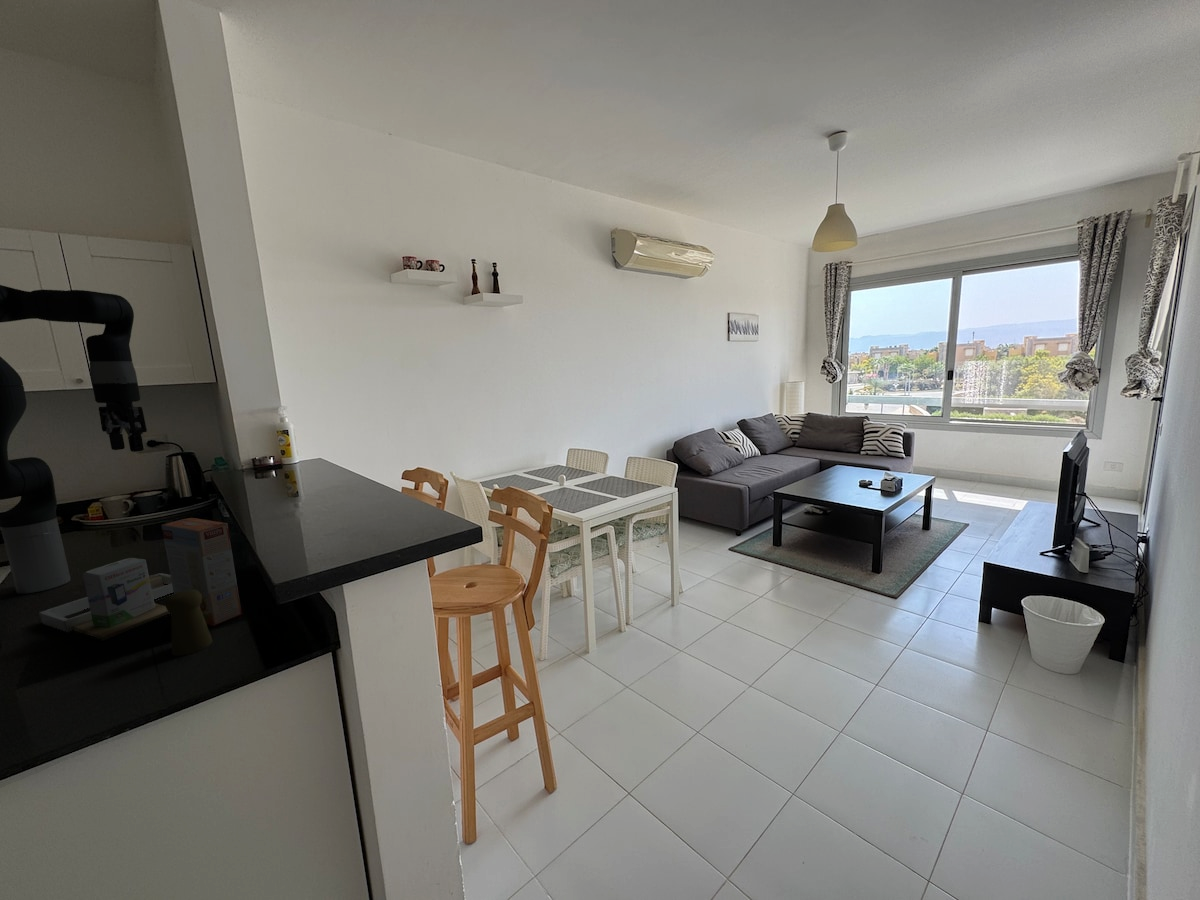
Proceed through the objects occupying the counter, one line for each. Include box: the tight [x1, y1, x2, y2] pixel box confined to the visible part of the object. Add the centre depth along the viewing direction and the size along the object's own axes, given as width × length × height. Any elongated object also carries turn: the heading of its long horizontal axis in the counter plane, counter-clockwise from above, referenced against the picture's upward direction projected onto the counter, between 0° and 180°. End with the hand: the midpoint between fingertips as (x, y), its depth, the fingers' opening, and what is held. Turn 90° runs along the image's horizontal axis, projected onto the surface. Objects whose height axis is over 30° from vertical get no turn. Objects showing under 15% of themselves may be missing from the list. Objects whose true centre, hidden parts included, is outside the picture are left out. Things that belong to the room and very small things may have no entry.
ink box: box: [82, 557, 155, 628], centre depth 102 cm, size 9×5×12 cm, turn 166°
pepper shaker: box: [165, 590, 213, 657], centre depth 91 cm, size 6×6×11 cm
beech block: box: [149, 574, 164, 590], centre depth 116 cm, size 4×4×4 cm
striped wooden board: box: [73, 602, 170, 639], centre depth 103 cm, size 12×12×1 cm
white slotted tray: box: [38, 572, 173, 633], centre depth 111 cm, size 12×22×2 cm, turn 157°
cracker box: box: [160, 517, 243, 627], centre depth 103 cm, size 14×6×21 cm, turn 65°
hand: (127, 450), depth 114 cm, fingers open, 8 cm apart
